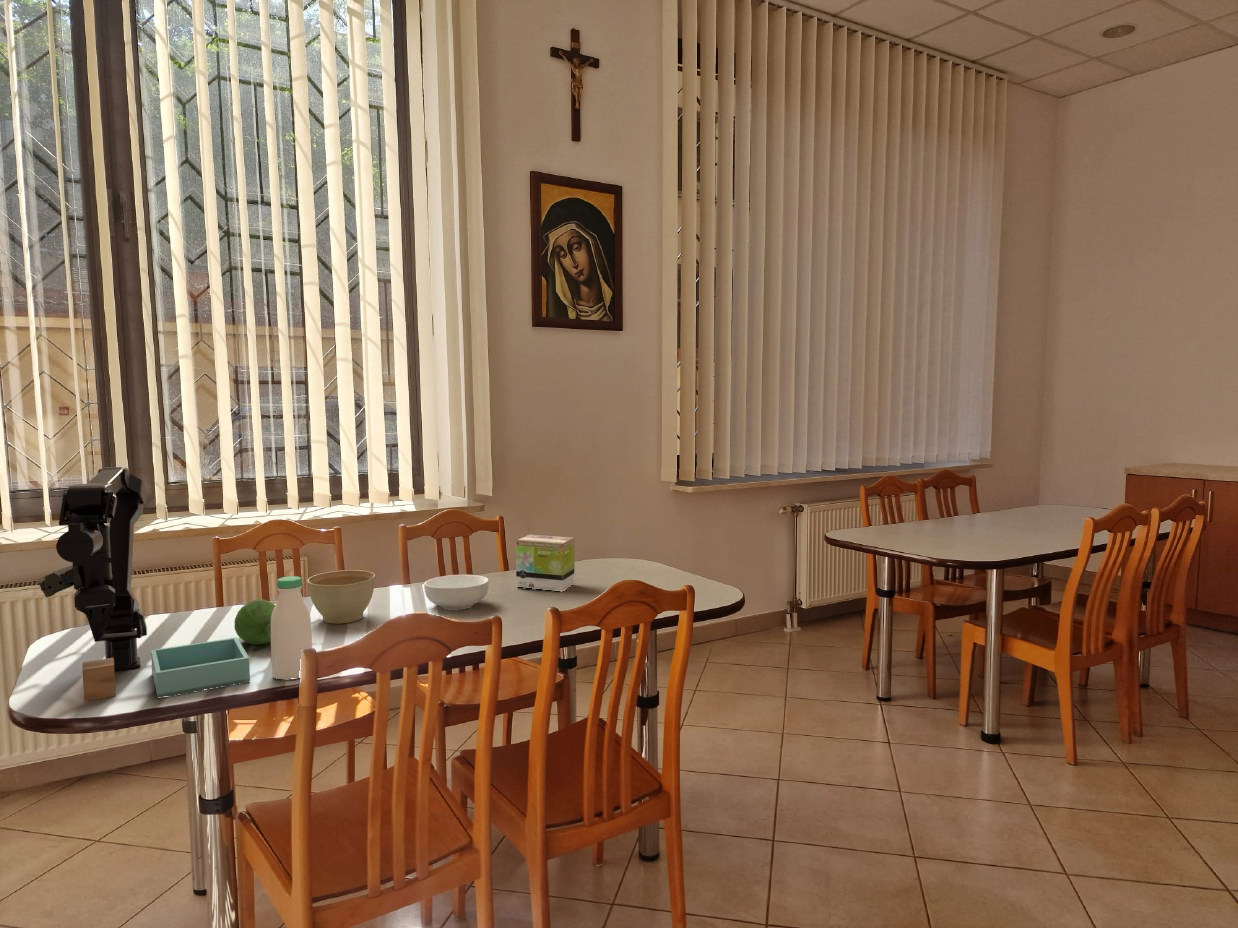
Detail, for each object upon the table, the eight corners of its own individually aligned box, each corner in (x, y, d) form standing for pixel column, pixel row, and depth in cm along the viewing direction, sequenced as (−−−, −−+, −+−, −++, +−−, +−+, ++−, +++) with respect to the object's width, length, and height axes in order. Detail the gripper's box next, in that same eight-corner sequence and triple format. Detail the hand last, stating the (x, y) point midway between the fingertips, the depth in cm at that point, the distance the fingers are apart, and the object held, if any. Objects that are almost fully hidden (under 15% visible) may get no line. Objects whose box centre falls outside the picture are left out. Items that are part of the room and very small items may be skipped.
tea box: (515, 589, 236) (514, 539, 234) (528, 581, 245) (528, 533, 244) (563, 593, 231) (563, 542, 230) (575, 585, 241) (575, 536, 239)
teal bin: (152, 673, 164) (150, 650, 164) (238, 659, 173) (237, 637, 173) (157, 698, 151) (155, 672, 151) (250, 682, 160) (249, 657, 159)
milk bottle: (320, 674, 164) (316, 577, 163) (283, 684, 159) (279, 584, 157) (301, 665, 170) (298, 572, 168) (265, 675, 164) (261, 578, 162)
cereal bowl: (495, 599, 224) (495, 574, 224) (479, 615, 208) (479, 588, 207) (436, 597, 226) (435, 572, 225) (415, 613, 209) (415, 587, 209)
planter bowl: (305, 615, 208) (303, 573, 207) (369, 607, 215) (368, 567, 214) (312, 631, 194) (311, 587, 193) (381, 622, 201) (380, 580, 200)
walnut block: (84, 692, 154) (82, 662, 154) (115, 687, 157) (113, 657, 157) (84, 701, 150) (82, 669, 150) (115, 695, 153) (114, 664, 152)
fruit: (291, 649, 181) (290, 605, 180) (243, 657, 175) (241, 612, 174) (276, 632, 193) (275, 591, 192) (231, 639, 187) (229, 597, 186)
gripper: (41, 548, 155) (46, 627, 156) (37, 565, 139) (43, 653, 141) (110, 542, 161) (114, 618, 162) (113, 558, 145) (118, 642, 147)
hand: (97, 632), depth 153 cm, fingers open, 9 cm apart
